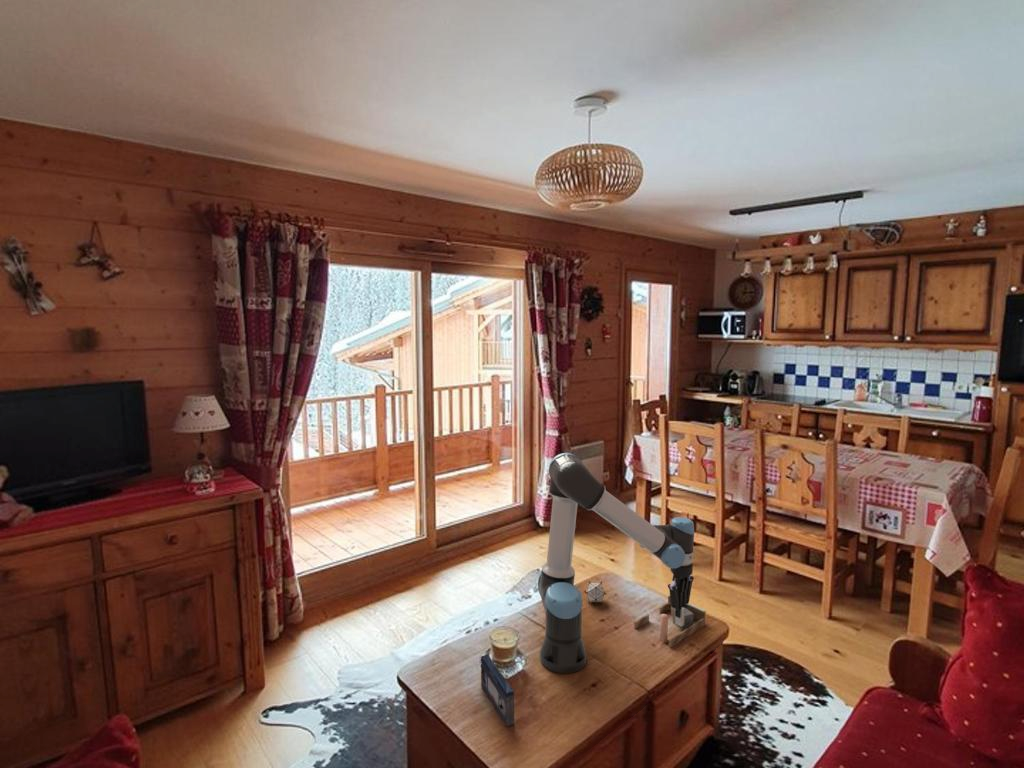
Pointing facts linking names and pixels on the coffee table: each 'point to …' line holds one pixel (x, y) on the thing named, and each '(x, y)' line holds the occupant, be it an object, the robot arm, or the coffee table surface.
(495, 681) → the vhs cassette tape
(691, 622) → the dice cube
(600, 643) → the coffee table surface
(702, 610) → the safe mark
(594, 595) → the game die
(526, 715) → the coffee table surface
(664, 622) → the pin near
